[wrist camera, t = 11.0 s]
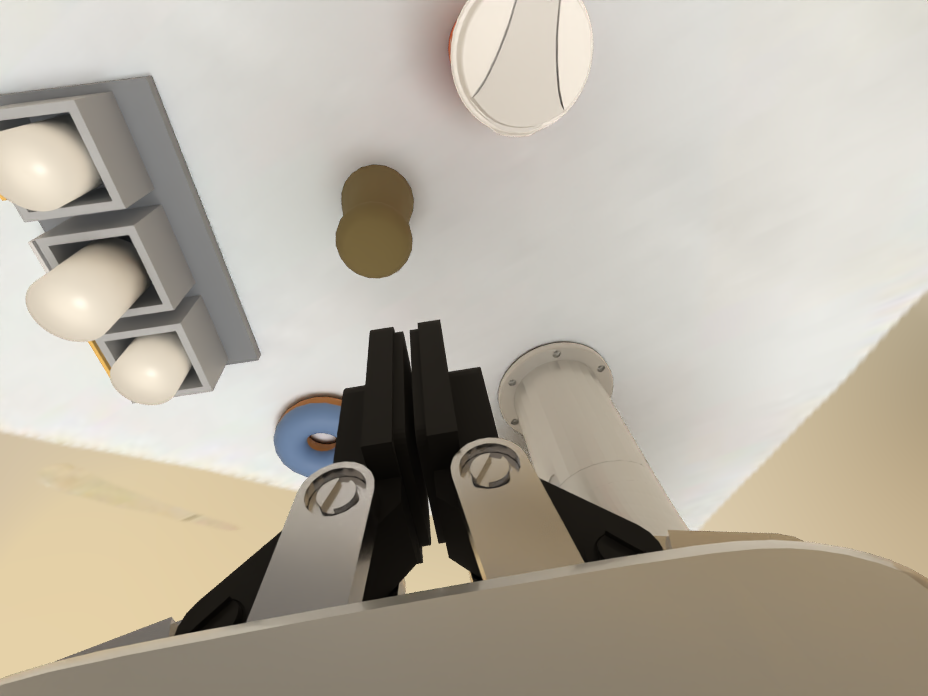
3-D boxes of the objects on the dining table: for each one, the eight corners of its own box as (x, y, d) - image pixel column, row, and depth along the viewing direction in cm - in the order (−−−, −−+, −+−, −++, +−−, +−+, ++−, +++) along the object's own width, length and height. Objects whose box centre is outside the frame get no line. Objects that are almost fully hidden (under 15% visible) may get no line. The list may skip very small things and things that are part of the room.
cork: (347, 239, 44) (335, 295, 35) (335, 167, 41) (318, 207, 31) (416, 233, 44) (423, 287, 35) (410, 162, 41) (415, 201, 32)
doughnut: (255, 428, 53) (249, 460, 50) (321, 372, 51) (321, 401, 48) (326, 468, 59) (326, 500, 55) (388, 419, 57) (393, 448, 53)
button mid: (163, 290, 40) (124, 336, 34) (102, 299, 40) (51, 346, 34) (136, 232, 37) (88, 271, 31) (69, 242, 37) (9, 282, 31)
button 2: (213, 353, 47) (187, 400, 41) (160, 361, 47) (127, 409, 41) (192, 308, 44) (162, 351, 38) (137, 316, 44) (97, 360, 38)
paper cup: (440, -25, 35) (464, -52, 23) (546, -4, 36) (621, -20, 24) (428, 100, 39) (443, 131, 27) (524, 114, 40) (578, 149, 28)
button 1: (133, 178, 38) (87, 205, 32) (69, 187, 38) (9, 216, 32) (102, 109, 35) (45, 125, 30) (32, 118, 35) (-39, 136, 29)
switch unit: (260, 354, 49) (245, 391, 44) (132, 373, 48) (102, 413, 43) (151, 75, 36) (112, 83, 31) (-26, 98, 35) (-96, 109, 30)
